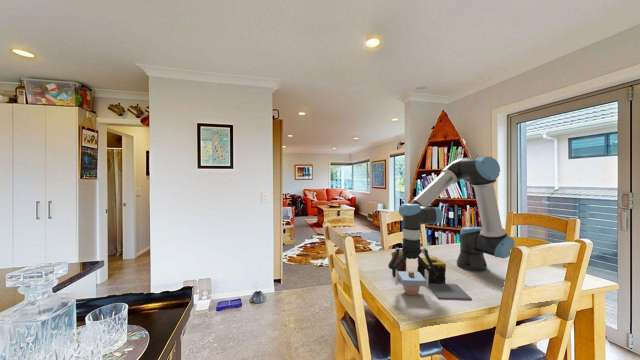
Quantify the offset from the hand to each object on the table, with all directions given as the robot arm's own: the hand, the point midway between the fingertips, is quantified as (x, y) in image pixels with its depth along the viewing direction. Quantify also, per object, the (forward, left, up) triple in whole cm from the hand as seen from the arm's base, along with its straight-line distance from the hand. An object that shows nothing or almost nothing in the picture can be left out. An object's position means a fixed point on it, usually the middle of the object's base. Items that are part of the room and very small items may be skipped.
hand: (411, 284), depth 114 cm
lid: (0, 0, +1) cm, 2 cm away
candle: (-14, -15, -4) cm, 21 cm away
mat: (-17, -2, -4) cm, 18 cm away
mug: (0, -22, -4) cm, 22 cm away
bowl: (0, 0, -4) cm, 4 cm away
